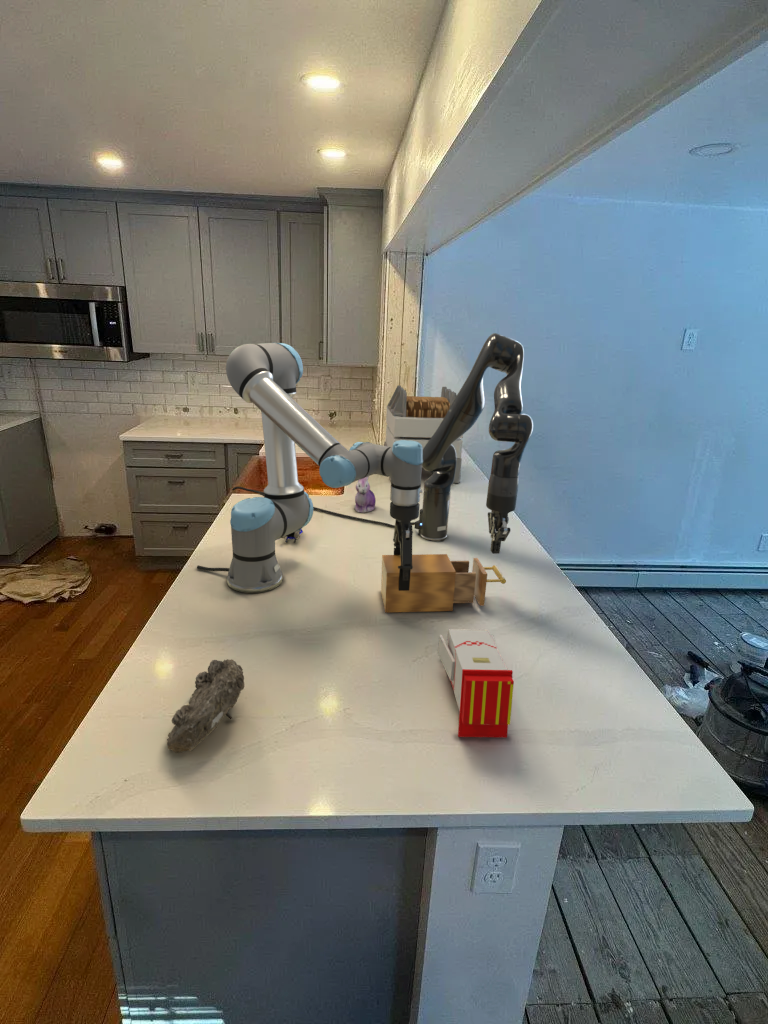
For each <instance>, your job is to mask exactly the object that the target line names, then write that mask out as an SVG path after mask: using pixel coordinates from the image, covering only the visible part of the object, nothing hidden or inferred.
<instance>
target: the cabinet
mask: <svg viewBox="0 0 768 1024" xmlns="http://www.w3.org/2000/svg"><path fill="white" fill-rule="evenodd" d="M451 561H452V560H451V559H450V558H449V555H448V554H447V553H437V554H436V553H434V554H433V553H430V554H428V553H427V554H425V553H424V554H412V566H413V568H412V569H411V570H410V587H409V591H399V570H400V569H398V566H400V565H401V558H400V555H394V554H382V556H381V578H380V579H381V583H380V584H381V585H380V594H381V599H382V603H383V608H384V612H385V613H425V612H453V611H454V610H453V609H454V603H453V600H454V588H455V576H456V571H455V569H454V567H453V565H452V563H451Z"/></svg>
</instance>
